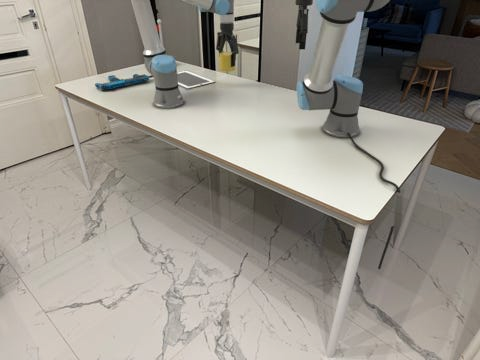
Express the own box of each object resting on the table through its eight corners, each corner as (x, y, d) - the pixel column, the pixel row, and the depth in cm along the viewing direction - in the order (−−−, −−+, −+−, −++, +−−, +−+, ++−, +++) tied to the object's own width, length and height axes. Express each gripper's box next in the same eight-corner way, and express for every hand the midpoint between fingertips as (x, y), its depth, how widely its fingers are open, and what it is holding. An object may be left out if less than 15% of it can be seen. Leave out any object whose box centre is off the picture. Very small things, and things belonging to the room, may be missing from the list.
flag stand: (171, 62, 250) (166, 17, 233) (175, 66, 239) (170, 20, 223) (153, 63, 246) (147, 18, 229) (157, 68, 235) (150, 21, 219)
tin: (229, 66, 204) (229, 51, 199) (237, 70, 197) (238, 54, 193) (216, 68, 200) (216, 52, 195) (224, 72, 193) (224, 56, 188)
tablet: (160, 77, 218) (160, 76, 218) (186, 71, 229) (186, 70, 229) (187, 89, 198) (187, 88, 198) (215, 82, 209) (215, 81, 209)
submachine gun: (139, 68, 225) (158, 74, 208) (140, 74, 226) (158, 80, 210) (87, 78, 206) (103, 86, 189) (89, 84, 208) (104, 92, 191)
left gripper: (245, 24, 181) (245, 67, 193) (218, 19, 194) (219, 60, 206) (235, 25, 176) (235, 69, 188) (208, 20, 189) (210, 62, 201)
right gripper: (293, -8, 159) (289, 40, 170) (299, -3, 138) (295, 52, 149) (309, -8, 158) (304, 40, 170) (318, -3, 137) (312, 52, 149)
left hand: (227, 64), depth 197 cm, fingers closed on tin, 9 cm apart
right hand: (300, 46), depth 160 cm, fingers open, 13 cm apart
